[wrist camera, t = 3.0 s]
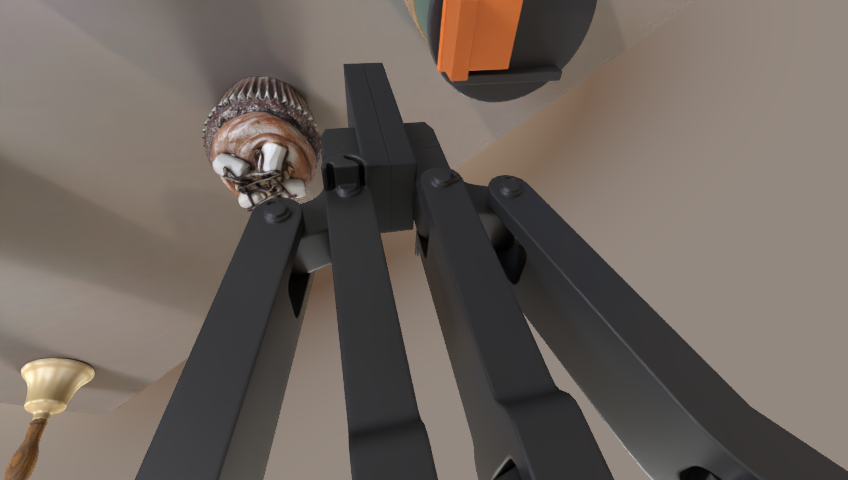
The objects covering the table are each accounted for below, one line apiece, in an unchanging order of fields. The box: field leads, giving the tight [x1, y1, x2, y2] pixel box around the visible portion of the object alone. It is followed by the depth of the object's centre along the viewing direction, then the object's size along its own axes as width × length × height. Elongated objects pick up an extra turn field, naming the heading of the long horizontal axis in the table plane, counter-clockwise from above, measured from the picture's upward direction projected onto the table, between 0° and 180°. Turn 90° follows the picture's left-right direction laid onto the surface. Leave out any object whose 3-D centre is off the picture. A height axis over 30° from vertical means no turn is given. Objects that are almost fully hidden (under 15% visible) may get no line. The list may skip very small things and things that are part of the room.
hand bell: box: [4, 358, 95, 480], centre depth 54 cm, size 8×8×16 cm
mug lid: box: [427, 0, 597, 102], centre depth 24 cm, size 10×10×2 cm
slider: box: [437, 0, 523, 81], centre depth 22 cm, size 4×5×2 cm
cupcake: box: [202, 76, 321, 211], centre depth 35 cm, size 10×10×10 cm
